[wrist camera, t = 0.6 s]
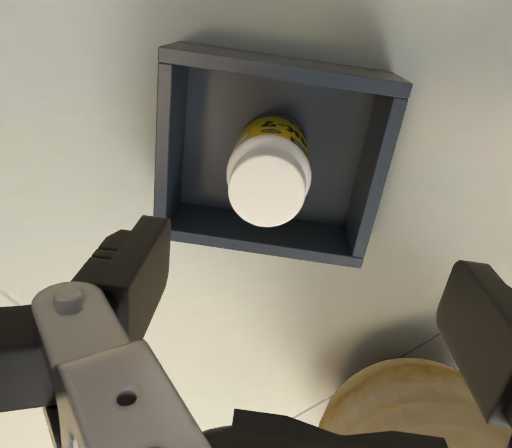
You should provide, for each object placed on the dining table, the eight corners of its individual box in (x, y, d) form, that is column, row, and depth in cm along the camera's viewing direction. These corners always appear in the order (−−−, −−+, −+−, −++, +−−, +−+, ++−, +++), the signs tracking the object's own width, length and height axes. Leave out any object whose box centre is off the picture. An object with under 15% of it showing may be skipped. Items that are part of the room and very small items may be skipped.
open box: (179, 40, 28) (158, 46, 23) (392, 72, 28) (413, 83, 23) (171, 207, 33) (152, 238, 28) (351, 233, 33) (361, 269, 28)
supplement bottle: (321, 137, 29) (333, 181, 22) (282, 192, 31) (281, 250, 24) (260, 97, 28) (250, 129, 21) (224, 157, 30) (203, 205, 23)
